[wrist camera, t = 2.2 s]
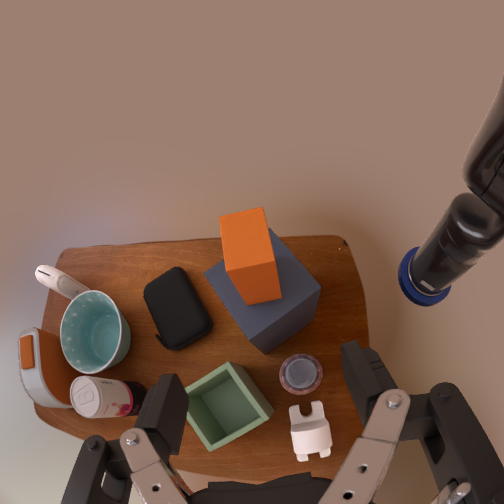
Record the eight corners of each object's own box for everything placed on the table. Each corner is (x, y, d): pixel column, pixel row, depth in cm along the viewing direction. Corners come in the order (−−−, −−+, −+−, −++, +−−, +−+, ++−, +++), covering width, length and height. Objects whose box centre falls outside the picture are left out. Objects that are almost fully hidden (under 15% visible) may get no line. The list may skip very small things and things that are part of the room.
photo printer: (95, 290, 55) (59, 268, 44) (89, 308, 53) (51, 288, 42) (69, 280, 57) (36, 258, 46) (63, 296, 55) (28, 276, 45)
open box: (242, 365, 44) (228, 360, 35) (275, 410, 39) (269, 418, 31) (196, 394, 42) (172, 395, 34) (227, 439, 38) (209, 452, 29)
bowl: (155, 360, 46) (132, 354, 39) (97, 387, 45) (70, 384, 37) (130, 290, 53) (108, 275, 46) (78, 321, 52) (54, 311, 44)
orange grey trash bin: (56, 346, 50) (13, 332, 38) (79, 340, 50) (35, 323, 38) (64, 408, 43) (19, 404, 31) (89, 406, 43) (43, 403, 31)
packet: (272, 255, 33) (262, 206, 24) (282, 298, 31) (275, 260, 22) (239, 263, 33) (218, 216, 25) (246, 305, 31) (225, 271, 22)
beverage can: (156, 409, 42) (106, 412, 29) (129, 418, 41) (77, 422, 28) (142, 377, 45) (91, 369, 32) (117, 388, 44) (64, 381, 31)
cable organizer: (320, 399, 39) (327, 404, 30) (329, 452, 35) (338, 469, 26) (288, 406, 40) (286, 412, 31) (297, 459, 35) (297, 478, 26)
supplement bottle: (325, 373, 41) (335, 371, 31) (300, 400, 40) (302, 406, 30) (299, 351, 44) (300, 341, 34) (274, 376, 42) (267, 375, 32)
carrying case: (140, 294, 53) (169, 358, 46) (133, 289, 50) (162, 356, 43) (183, 266, 54) (218, 329, 47) (177, 260, 51) (214, 326, 45)
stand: (278, 277, 50) (269, 227, 35) (313, 320, 45) (321, 286, 30) (232, 309, 49) (203, 273, 34) (265, 355, 44) (248, 340, 29)
